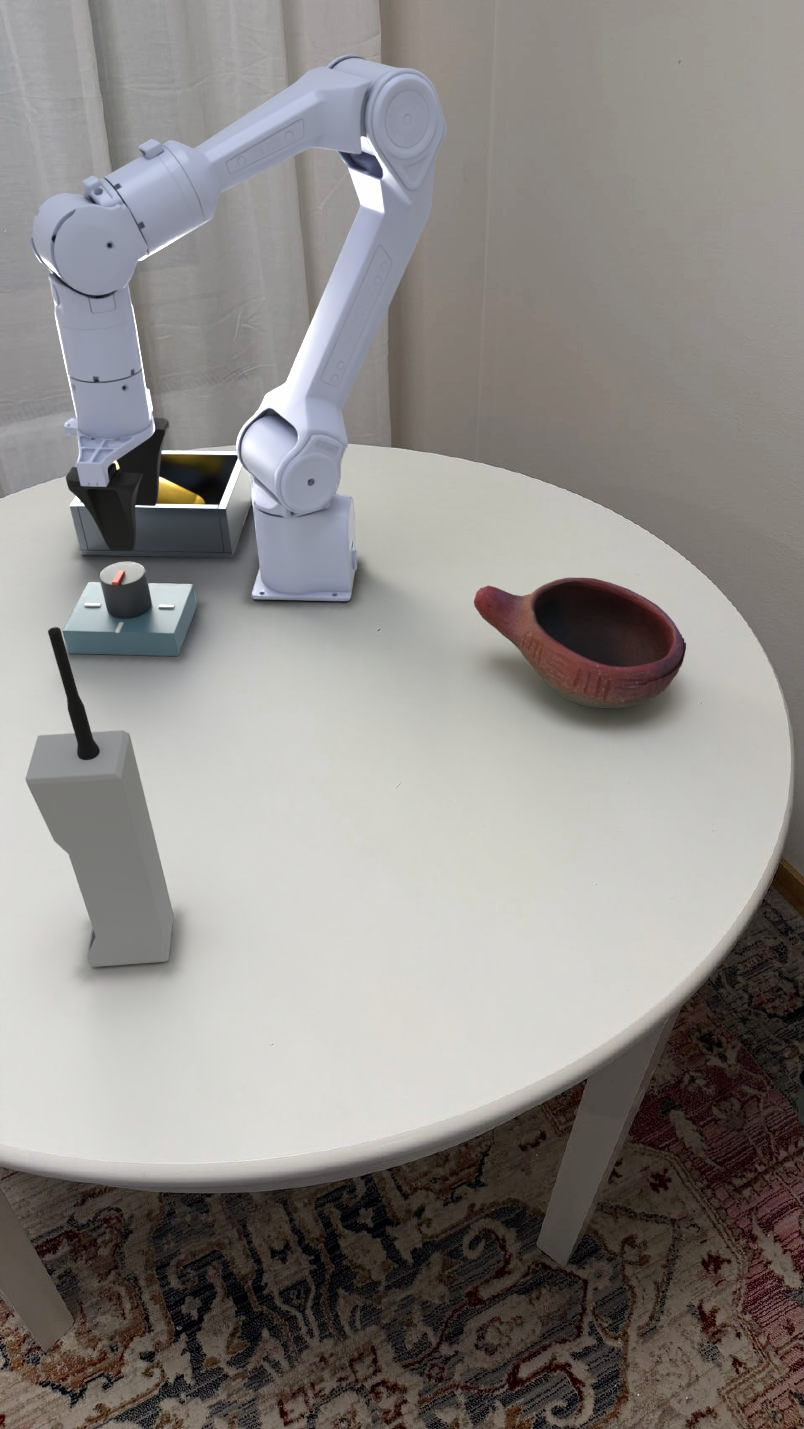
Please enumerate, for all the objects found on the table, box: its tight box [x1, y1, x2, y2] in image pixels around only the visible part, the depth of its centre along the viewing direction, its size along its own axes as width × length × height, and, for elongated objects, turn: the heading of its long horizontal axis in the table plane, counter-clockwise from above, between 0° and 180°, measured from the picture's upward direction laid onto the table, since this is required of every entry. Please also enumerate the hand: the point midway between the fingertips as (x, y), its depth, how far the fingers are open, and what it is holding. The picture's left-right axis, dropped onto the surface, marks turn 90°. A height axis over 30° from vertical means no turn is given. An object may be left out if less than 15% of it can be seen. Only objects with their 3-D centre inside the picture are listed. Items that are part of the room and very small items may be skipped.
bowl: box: [473, 577, 687, 709], centre depth 83 cm, size 16×13×8 cm
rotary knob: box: [98, 561, 152, 618], centre depth 90 cm, size 4×4×4 cm
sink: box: [69, 450, 253, 559], centre depth 105 cm, size 16×13×6 cm
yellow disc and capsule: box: [113, 461, 205, 505], centre depth 105 cm, size 12×4×3 cm, turn 87°
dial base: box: [61, 581, 198, 657], centre depth 92 cm, size 10×8×3 cm
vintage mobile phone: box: [25, 626, 175, 968], centre depth 57 cm, size 4×5×25 cm
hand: (133, 525), depth 86 cm, fingers open, 7 cm apart
